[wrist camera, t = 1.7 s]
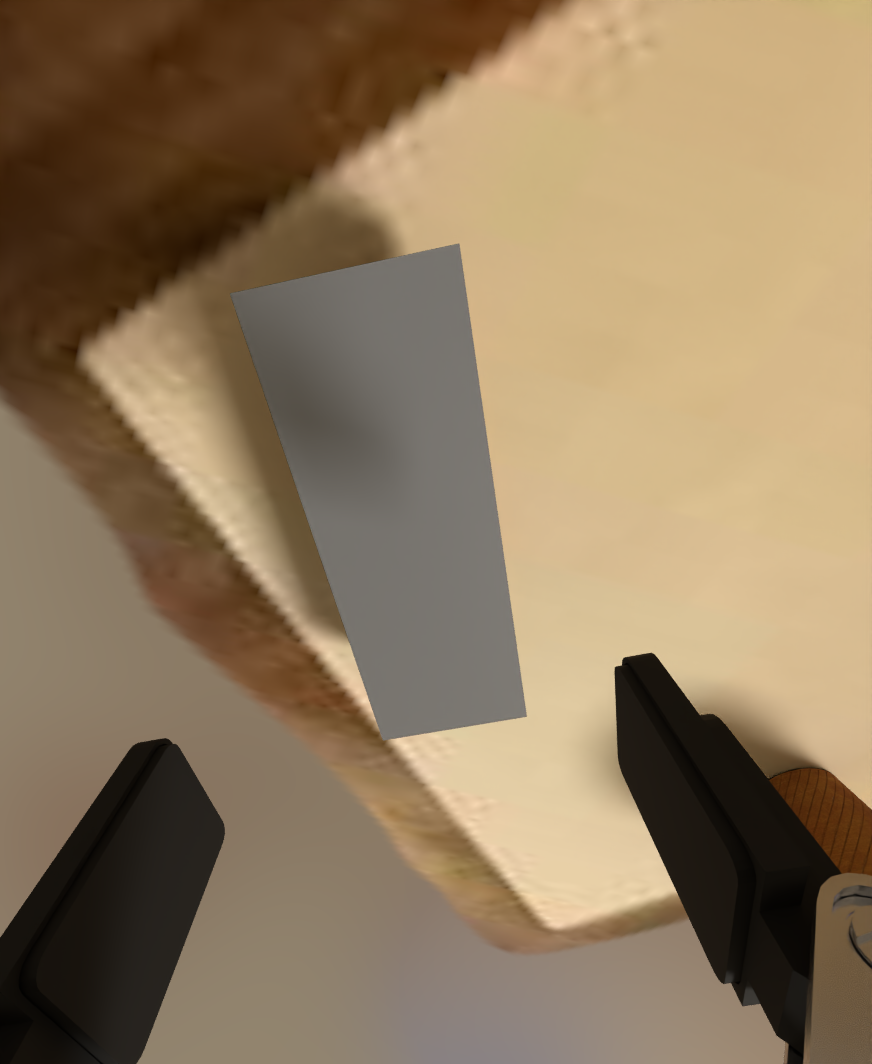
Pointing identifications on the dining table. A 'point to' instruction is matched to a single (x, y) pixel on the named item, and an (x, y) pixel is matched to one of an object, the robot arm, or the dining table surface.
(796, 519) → the dining table surface
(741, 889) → the robot arm
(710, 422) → the dining table surface
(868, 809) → the disposable coffee cup
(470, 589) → the gray rectangular block
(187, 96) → the dining table surface
